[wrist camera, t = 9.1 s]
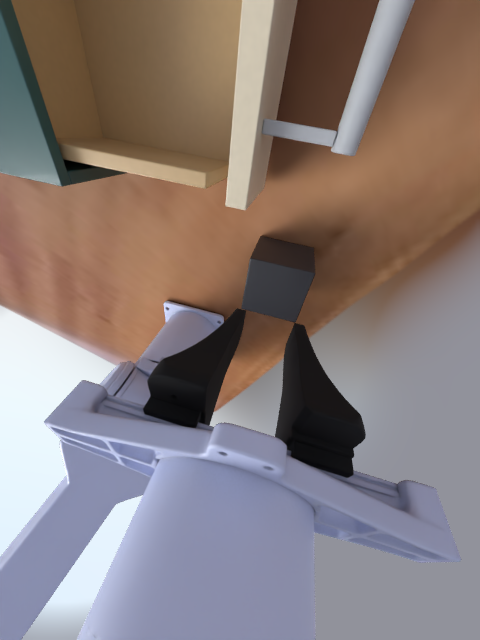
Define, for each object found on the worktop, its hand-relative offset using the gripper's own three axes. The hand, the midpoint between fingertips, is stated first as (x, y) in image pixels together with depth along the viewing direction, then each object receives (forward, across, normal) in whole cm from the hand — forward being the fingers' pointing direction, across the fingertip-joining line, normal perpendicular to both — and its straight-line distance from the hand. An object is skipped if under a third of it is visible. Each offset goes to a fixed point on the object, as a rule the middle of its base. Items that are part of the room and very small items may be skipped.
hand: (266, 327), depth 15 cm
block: (+9, 0, 0) cm, 9 cm away
